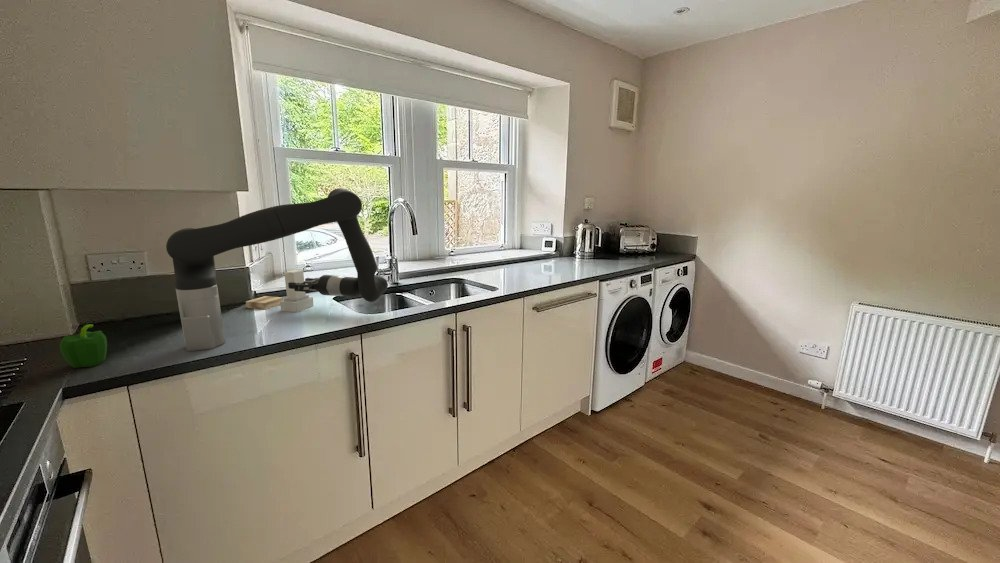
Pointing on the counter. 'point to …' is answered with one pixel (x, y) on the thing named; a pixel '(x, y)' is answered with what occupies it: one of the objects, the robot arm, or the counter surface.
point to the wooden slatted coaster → (264, 302)
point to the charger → (294, 277)
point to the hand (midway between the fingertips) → (297, 283)
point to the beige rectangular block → (296, 304)
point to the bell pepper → (84, 348)
